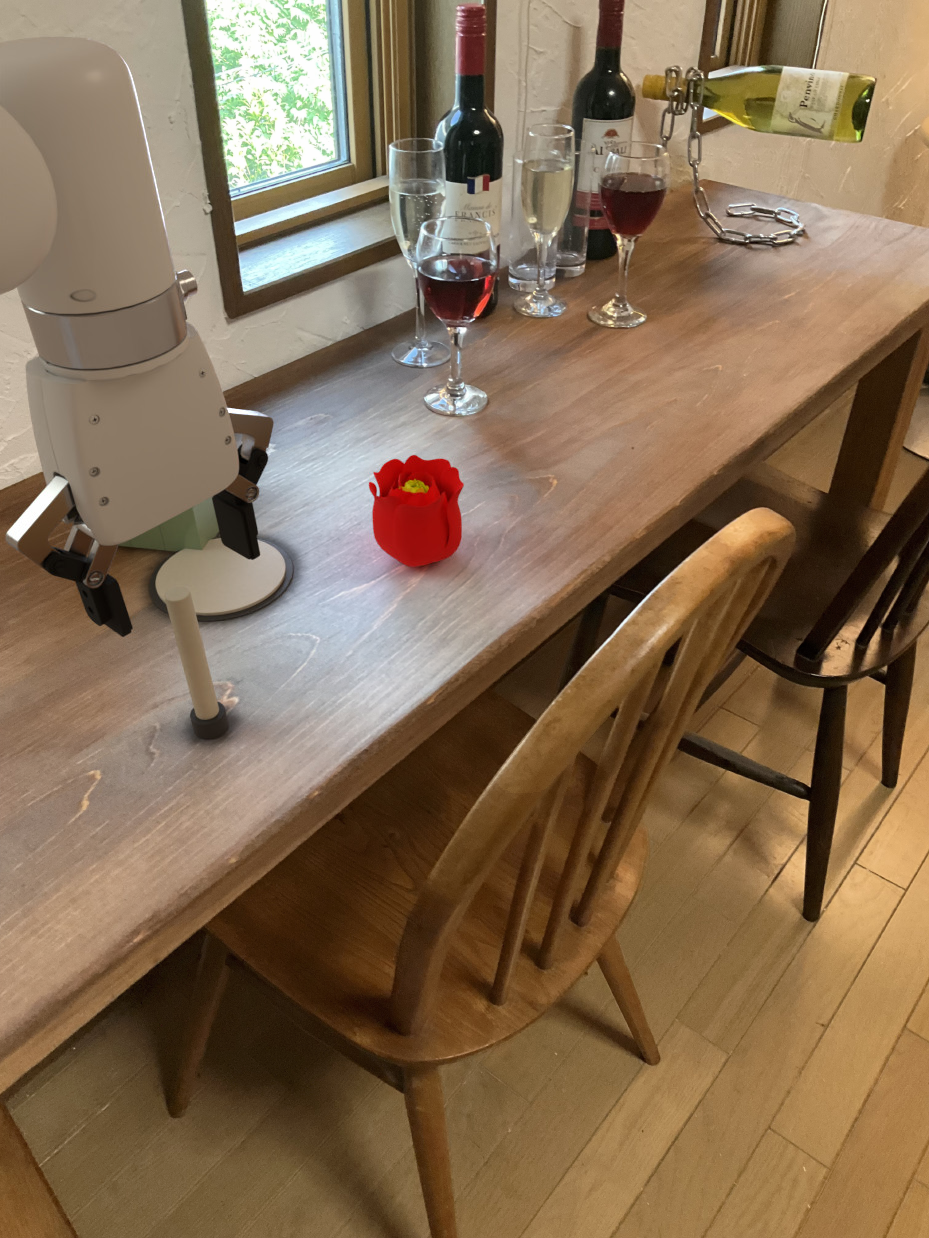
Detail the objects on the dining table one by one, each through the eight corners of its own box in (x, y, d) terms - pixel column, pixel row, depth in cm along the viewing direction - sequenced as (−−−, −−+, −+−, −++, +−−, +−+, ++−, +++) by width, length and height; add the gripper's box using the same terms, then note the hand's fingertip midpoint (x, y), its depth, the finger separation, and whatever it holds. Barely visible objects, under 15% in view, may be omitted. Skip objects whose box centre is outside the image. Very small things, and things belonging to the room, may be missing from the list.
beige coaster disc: (124, 613, 78) (122, 609, 77) (184, 532, 87) (183, 527, 86) (265, 629, 76) (264, 624, 76) (311, 544, 85) (310, 539, 85)
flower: (393, 525, 87) (387, 446, 82) (475, 536, 86) (475, 457, 81) (364, 575, 81) (356, 493, 76) (452, 587, 80) (450, 506, 75)
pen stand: (95, 544, 86) (77, 485, 82) (145, 485, 93) (131, 429, 90) (203, 554, 84) (189, 496, 80) (245, 494, 92) (234, 438, 88)
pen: (188, 738, 67) (150, 602, 59) (202, 714, 69) (167, 579, 61) (221, 742, 66) (187, 606, 59) (234, 718, 68) (202, 583, 61)
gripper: (200, 259, 56) (249, 506, 67) (-91, 360, 46) (22, 632, 57) (286, 288, 52) (323, 545, 63) (-12, 405, 42) (93, 687, 53)
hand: (180, 586), depth 60 cm, fingers open, 9 cm apart
